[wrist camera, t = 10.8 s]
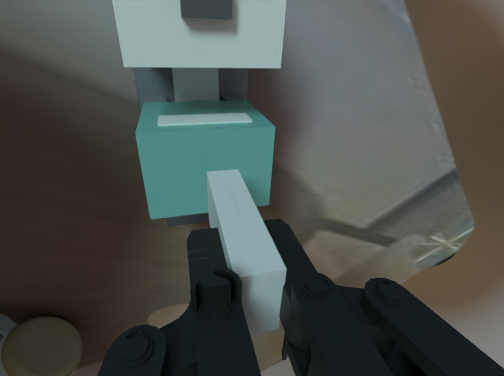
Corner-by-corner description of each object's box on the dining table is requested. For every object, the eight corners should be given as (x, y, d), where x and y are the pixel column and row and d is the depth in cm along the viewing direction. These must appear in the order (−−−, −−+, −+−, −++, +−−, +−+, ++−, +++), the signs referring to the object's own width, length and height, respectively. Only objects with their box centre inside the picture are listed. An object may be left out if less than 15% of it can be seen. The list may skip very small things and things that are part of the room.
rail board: (241, 191, 28) (274, 264, 19) (156, 200, 26) (152, 286, 17) (246, -59, 18) (316, -130, 10) (113, -75, 16) (57, -182, 8)
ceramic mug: (96, 321, 31) (76, 397, 25) (58, 363, 33) (30, 445, 26) (-16, 290, 26) (-79, 377, 19) (-55, 342, 28) (-123, 438, 21)
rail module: (240, 155, 24) (269, 205, 17) (154, 161, 22) (150, 219, 16) (241, 93, 21) (275, 125, 15) (144, 95, 20) (134, 131, 13)
